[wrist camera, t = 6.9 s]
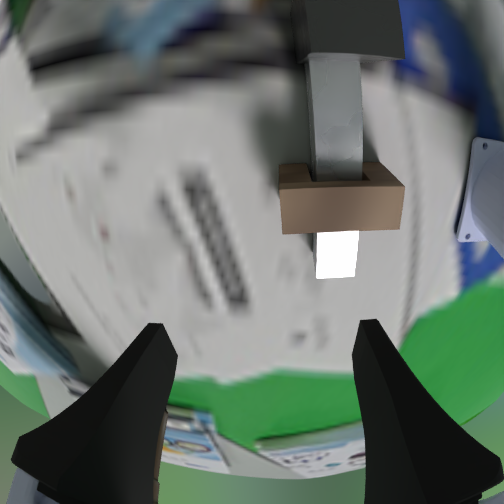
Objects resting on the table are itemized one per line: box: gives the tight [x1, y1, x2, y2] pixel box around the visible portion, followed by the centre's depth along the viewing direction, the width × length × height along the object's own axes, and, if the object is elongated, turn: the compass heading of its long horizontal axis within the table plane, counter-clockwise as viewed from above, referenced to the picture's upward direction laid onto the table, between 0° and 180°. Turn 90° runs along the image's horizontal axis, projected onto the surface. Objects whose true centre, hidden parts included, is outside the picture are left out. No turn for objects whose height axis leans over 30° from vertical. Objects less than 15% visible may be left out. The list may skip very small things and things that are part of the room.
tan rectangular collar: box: [279, 162, 405, 234], centre depth 15 cm, size 6×2×4 cm, turn 96°
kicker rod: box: [290, 0, 405, 278], centre depth 11 cm, size 5×19×7 cm, turn 7°
